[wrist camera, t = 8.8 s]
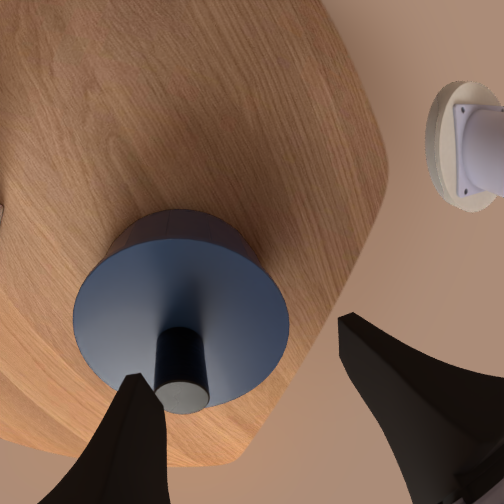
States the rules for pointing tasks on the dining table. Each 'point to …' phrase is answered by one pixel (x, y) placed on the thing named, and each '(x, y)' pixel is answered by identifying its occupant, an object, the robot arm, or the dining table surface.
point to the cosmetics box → (0, 211)
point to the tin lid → (181, 320)
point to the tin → (183, 229)
